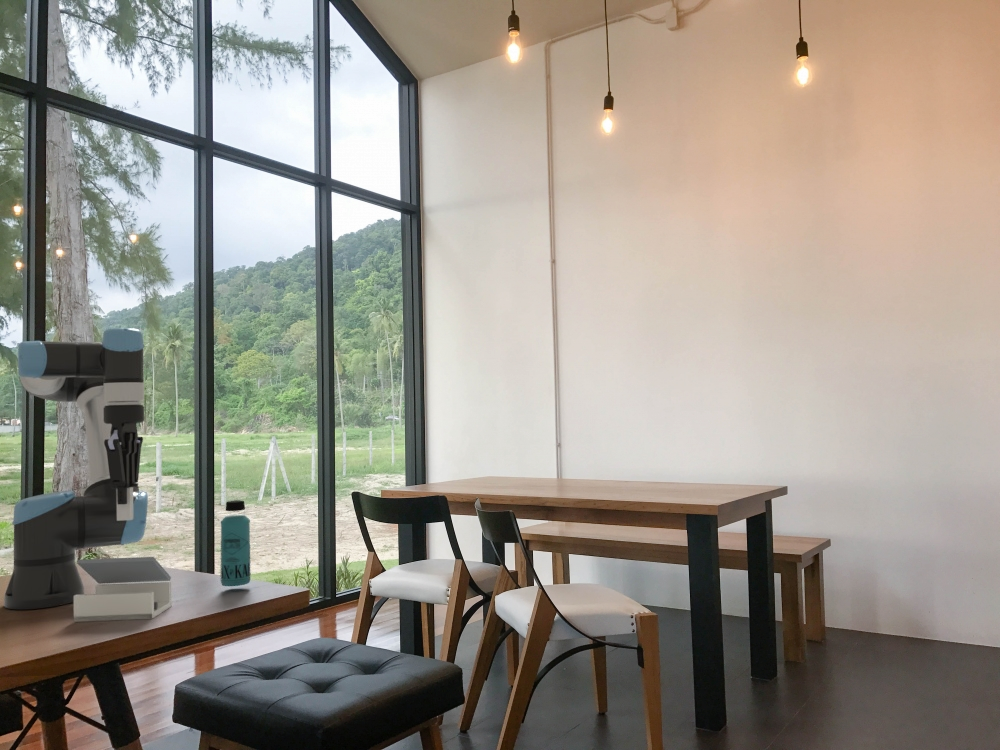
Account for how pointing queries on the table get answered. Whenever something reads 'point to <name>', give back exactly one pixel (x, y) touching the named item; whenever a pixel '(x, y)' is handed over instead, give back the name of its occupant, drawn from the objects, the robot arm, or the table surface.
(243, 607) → the table surface
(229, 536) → the beverage bottle
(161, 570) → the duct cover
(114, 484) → the robot arm
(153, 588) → the white boxy piece
